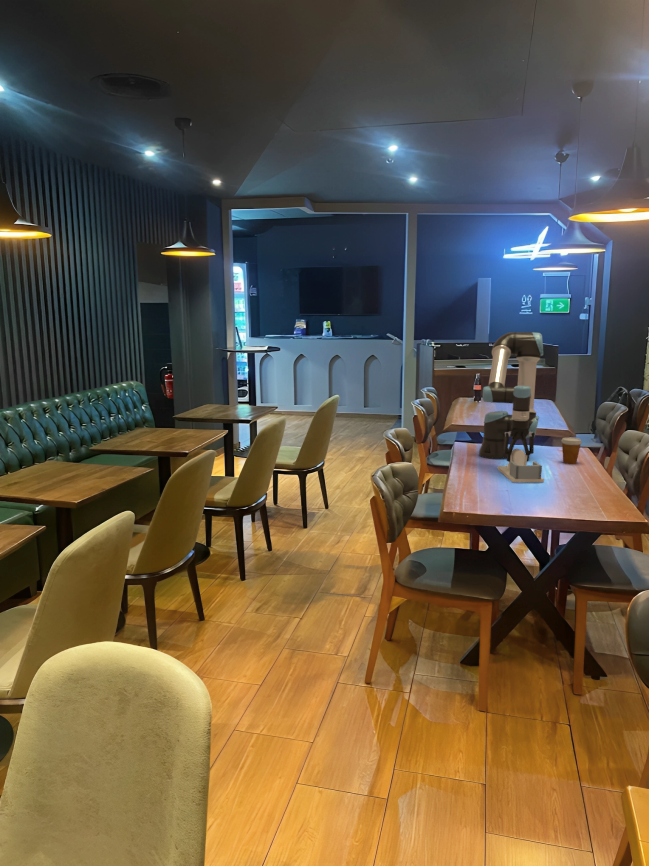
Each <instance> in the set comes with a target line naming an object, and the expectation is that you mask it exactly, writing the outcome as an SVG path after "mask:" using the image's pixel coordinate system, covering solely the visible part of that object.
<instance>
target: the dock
mask: <svg viewBox="0 0 649 866" xmlns="http://www.w3.org/2000/svg"><path fill="white" fill-rule="evenodd" d="M542 467H543V465H541V464H540V463H538V462H537V461H535V460H534V461H533V460H532V464H530V465H528V464H527V465H517V464H516V463H514V462H513V461H510V469H508V468H507V465H506V466H505V465H502V466H501V465H498V466H497V470H498V471H499V472H500V473H501V474H502V475H503V474H504V475H503V476H505V477H506V478H507V479H508V480H509V481H510V482H511V481H512V482H511V483H544V481H545V479H544V478H543V477H542V469H543V468H542Z"/></svg>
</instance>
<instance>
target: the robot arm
mask: <svg viewBox="0 0 649 866" xmlns="http://www.w3.org/2000/svg"><path fill="white" fill-rule="evenodd" d="M491 355H492V356H491V357H492V360H491V361H492V362H491V367H490V375H489V380H488V384H487V385H486V386H483V388H482V401H483V402H486V403H493V404H494V403H495V404H496V403H497V404H512V413H511V414H509V412H508V411H506V410H504V411H503V410H497V411H496V410H495V411H490V412H487V413H485V414H484V420H483V437H482V442H481V444H480V445H481V446H480V448H479V450H478V455H479V457H482V456H483V457H482V458H485V457H486V458H487V459H492V458H494V459H495V460H501V458H503V459H506V462H508V463H507V464H508V468H509V469H510V461H512V455H511V453H512V451H513V450H514V449H515V448H514V447H515V445H516V443H517V441H518V440H521V441H522V446H523V449H524V450H523V451H524V453H525V464H524V465H528V462H529V461H530V456H531V455H532V454H534V449H535V448H534V447H535V445H534V438H535V437H536V433H537V429H538V423H539V419H540V417H539V416H538V415H537V411H536V410H535V409H534V406H535V391H536V380H537V379H536V376H537V365H538V364H537V363H538V362H539V361H540V360H541V357H542V356H544V343H543V334H541V332H534V331H533V332H532V331H531V332H530V331H527V332H526V331H524V332H521V331H519V332H518V331H517V332H516V331H515V332H514V331H511V332H507V333H504V334H503V335H501V336H500V337H499V338H497V340H496V341H495V342H494V343H493V346H492V348H491ZM511 356H516V360H517V361H518V373H517V385H515V386H514V387H506V386H505V384H506V377H507V371H508V370H507V369H508V362H509V359H510V357H511ZM510 438H511V441H510ZM527 439H528V442H527ZM509 442H510V443H509ZM528 443H529V444H528ZM506 457H507V458H506ZM486 458H485V459H486Z"/></svg>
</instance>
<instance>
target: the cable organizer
mask: <svg viewBox="0 0 649 866" xmlns="http://www.w3.org/2000/svg"><path fill="white" fill-rule="evenodd" d="M525 454H526V453H525V450H523V449H522V450H521V449H519V448H513V450H512V453H511V455H512V461H513V462H514V463H516V464H517V465H524V464H525ZM508 464H509V463H507V464H506V466H507V468H508ZM508 469H509V468H508Z"/></svg>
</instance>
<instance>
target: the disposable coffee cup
mask: <svg viewBox="0 0 649 866" xmlns="http://www.w3.org/2000/svg"><path fill="white" fill-rule="evenodd" d="M560 443H561V448H562V450H561V451H562V462H563V464H567V463H568V464H567V465H575V464H577V463H578V458H579V454H580V450H581V444H582V443H583V442H582V440H581V438H577V437H569V436H568V437H562V439H561V440H560Z"/></svg>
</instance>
